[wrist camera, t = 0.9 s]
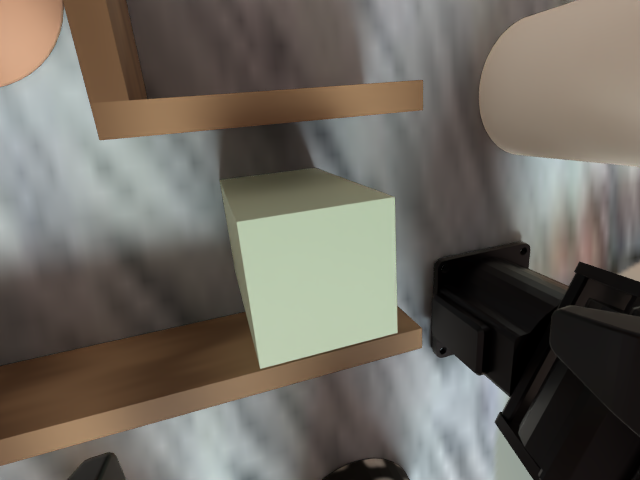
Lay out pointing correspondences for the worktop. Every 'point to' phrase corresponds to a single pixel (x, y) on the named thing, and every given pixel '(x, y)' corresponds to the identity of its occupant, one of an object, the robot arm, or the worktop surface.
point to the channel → (179, 342)
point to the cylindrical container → (567, 84)
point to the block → (311, 261)
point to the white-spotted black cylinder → (369, 471)
